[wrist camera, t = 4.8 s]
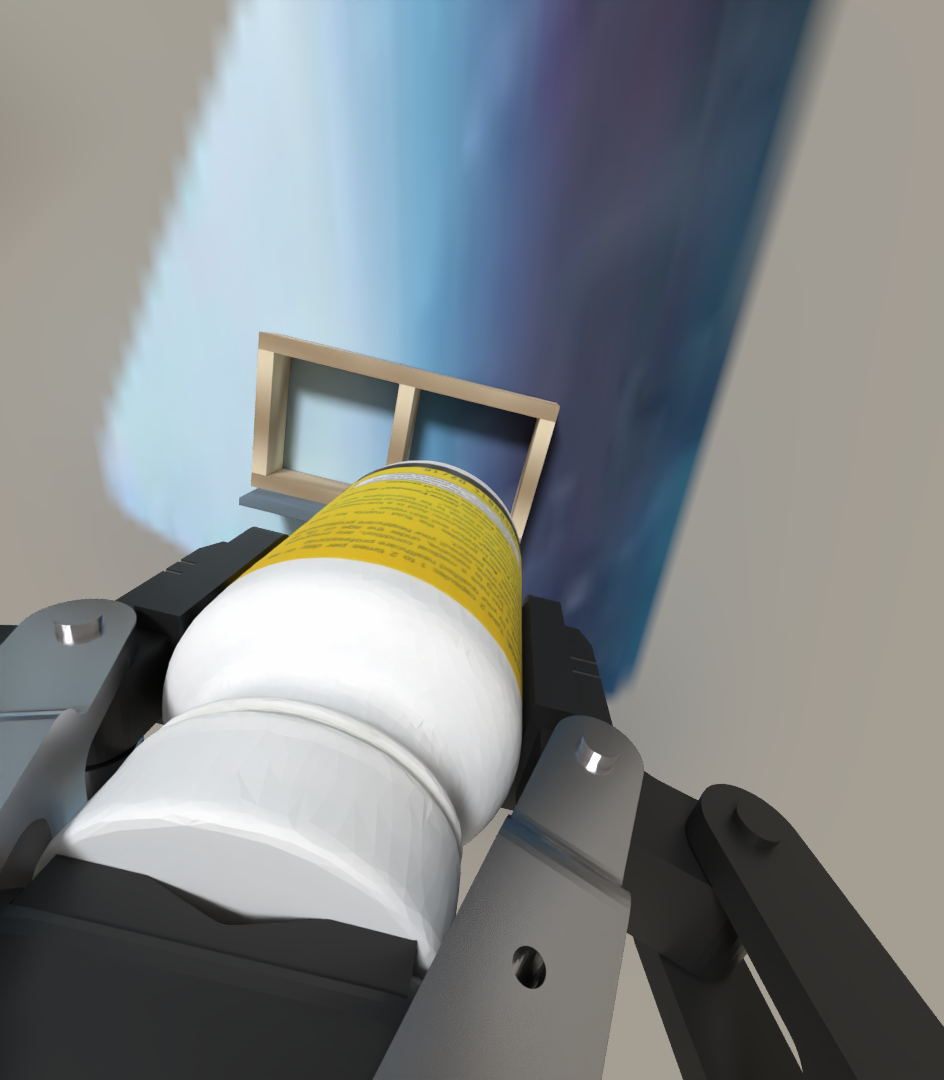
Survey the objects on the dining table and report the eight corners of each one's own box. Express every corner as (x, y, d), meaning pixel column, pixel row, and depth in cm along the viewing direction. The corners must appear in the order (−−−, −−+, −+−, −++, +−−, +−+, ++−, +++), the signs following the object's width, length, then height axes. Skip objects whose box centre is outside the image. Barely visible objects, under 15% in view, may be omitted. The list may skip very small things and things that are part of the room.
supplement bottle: (333, 443, 12) (-157, 687, 3) (535, 470, 12) (597, 807, 3) (332, 616, 14) (28, 1061, 5) (505, 642, 14) (492, 1145, 5)
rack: (278, 333, 25) (236, 329, 21) (556, 402, 25) (564, 410, 21) (268, 483, 28) (230, 502, 24) (515, 544, 28) (516, 572, 25)
